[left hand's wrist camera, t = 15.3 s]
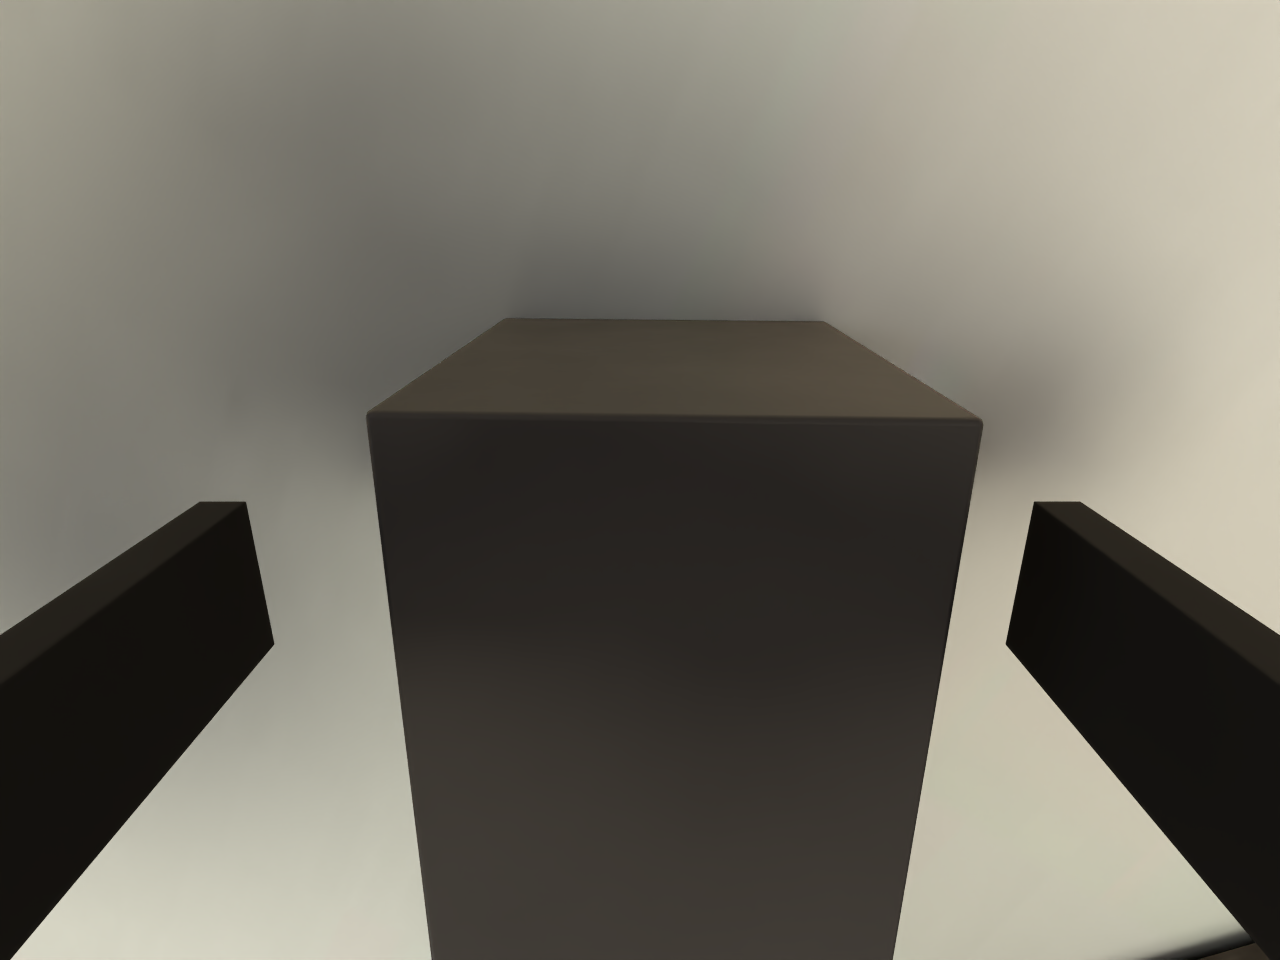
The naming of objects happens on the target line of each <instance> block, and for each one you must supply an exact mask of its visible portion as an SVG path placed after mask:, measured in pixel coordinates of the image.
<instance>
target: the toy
mask: <svg viewBox="0 0 1280 960" xmlns="http://www.w3.org/2000/svg"><path fill="white" fill-rule="evenodd" d="M1198 960H1270V959H1269V958H1268V957H1267V956H1266V955H1265V953H1264V952H1263V951H1262V950H1261V949H1260V947H1259V946H1258V945H1257V944H1256V943H1253V944H1250V945H1246V946H1243V947H1239V948H1236V949H1232V950H1229V951H1225V952H1222V953H1219V954H1215V955H1212V956H1208V957H1205V958H1201V959H1198Z"/></svg>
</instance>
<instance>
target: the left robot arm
mask: <svg viewBox="0 0 1280 960" xmlns="http://www.w3.org/2000/svg"><path fill="white" fill-rule="evenodd" d="M273 645H274V640H273V635H272V630H271V625H270V620H269V615H268V610H267V605H266V600H265V595H264V590H263V585H262V580H261V575H260V570H259V565H258V560H257V555H256V550H255V545H254V540H253V535H252V530H251V525H250V520H249V515H248V510H247V505H246V502H199V503H197V504H196V505H194V506H193V507H191V508H190V509H188V510H187V511H185V512H184V513H182V514H181V515H179V516H178V517H176V518H175V519H173V520H172V521H170V522H169V523H167V524H166V525H164V526H163V527H161V528H160V529H158V530H157V531H155V532H154V533H152V534H151V535H149V536H148V537H146V538H145V539H143V540H142V541H140V542H139V543H137V544H136V545H134V546H133V547H131V548H130V549H128V550H127V551H125V552H124V553H122V554H121V555H119V556H118V557H116V558H115V559H113V560H112V561H110V562H109V563H107V564H106V565H104V566H103V567H101V568H100V569H98V570H97V571H95V572H94V573H92V574H91V575H89V576H88V577H86V578H85V579H83V580H82V581H81V582H79V583H78V584H76V585H75V586H73V587H72V588H70V589H69V590H67V591H66V592H64V593H63V594H61V595H60V596H58V597H57V598H55V599H54V600H52V601H51V602H49V603H48V604H46V605H45V606H43V607H42V608H40V609H39V610H37V611H36V612H34V613H33V614H31V615H30V616H28V617H27V618H25V619H24V620H22V621H21V622H19V623H18V624H16V625H15V626H13V627H12V628H10V629H9V630H7V631H6V632H4V633H3V634H1V635H0V960H10V959H11V958H12V957H13V956H14V955H15V953H16V952H17V951H18V950H19V949H20V947H21V946H22V945H23V944H24V943H25V941H26V940H27V939H28V938H29V937H30V936H31V934H32V933H33V932H34V931H35V930H36V928H37V927H38V926H39V925H40V924H41V922H42V921H43V920H44V919H45V918H46V916H47V915H48V914H49V913H50V912H51V910H52V909H53V908H54V907H55V906H56V904H57V903H58V902H59V901H60V900H61V898H62V897H63V896H64V895H65V894H66V893H67V891H68V890H69V889H70V888H71V887H72V885H73V884H74V883H75V882H76V881H77V879H78V878H79V877H80V876H81V875H82V873H83V872H84V871H85V870H86V869H87V867H88V866H89V865H90V864H91V863H92V861H93V860H94V859H95V858H96V857H97V855H98V854H99V853H100V852H101V851H102V850H103V848H104V847H105V846H106V845H107V844H108V842H109V841H110V840H111V839H112V838H113V836H114V835H115V834H116V833H117V832H118V830H119V829H120V828H121V827H122V826H123V824H124V823H125V822H126V821H127V820H128V818H129V817H130V816H131V815H132V814H133V812H134V811H135V810H136V809H137V808H138V807H139V805H140V804H141V803H142V802H143V801H144V799H145V798H146V797H147V796H148V795H149V793H150V792H151V791H152V790H153V789H154V787H155V786H156V785H157V784H158V783H159V781H160V780H161V779H162V778H163V777H164V775H165V774H166V773H167V772H168V771H169V769H170V768H171V767H172V766H173V765H174V764H175V762H176V761H177V760H178V759H179V758H180V756H181V755H182V754H183V753H184V752H185V750H186V749H187V748H188V747H189V746H190V744H191V743H192V742H193V741H194V740H195V738H196V737H197V736H198V735H199V734H200V732H201V731H202V730H203V729H204V728H205V726H206V725H207V724H208V723H209V722H210V721H211V719H212V718H213V717H214V716H215V715H216V713H217V712H218V711H219V710H220V709H221V707H222V706H223V705H224V704H225V703H226V701H227V700H228V699H229V698H230V697H231V695H232V694H233V693H234V692H235V691H236V689H237V688H238V687H239V686H240V685H241V683H242V682H243V681H244V680H245V679H246V677H247V676H248V675H249V674H250V673H251V672H252V670H253V669H254V668H255V667H256V666H257V664H258V663H259V662H260V661H261V660H262V658H263V657H264V656H265V655H266V654H267V652H268V651H269V650H270V649H271V648H272V646H273ZM1006 645H1007V646H1008V648H1009V649H1010V650H1011V651H1012V652H1013V654H1014V655H1015V656H1016V657H1017V658H1018V660H1019V661H1020V662H1021V663H1022V664H1023V666H1024V667H1025V668H1026V669H1027V670H1028V672H1029V673H1030V674H1031V675H1032V676H1033V678H1034V679H1035V680H1036V681H1037V682H1038V683H1039V685H1040V686H1041V687H1042V688H1043V689H1044V691H1045V692H1046V693H1047V694H1048V695H1049V697H1050V698H1051V699H1052V700H1053V701H1054V703H1055V704H1056V705H1057V706H1058V707H1059V709H1060V710H1061V711H1062V712H1063V713H1064V715H1065V716H1066V717H1067V718H1068V719H1069V721H1070V722H1071V723H1072V724H1073V725H1074V726H1075V728H1076V729H1077V730H1078V731H1079V732H1080V734H1081V735H1082V736H1083V737H1084V738H1085V740H1086V741H1087V742H1088V743H1089V744H1090V746H1091V747H1092V748H1093V749H1094V750H1095V752H1096V753H1097V754H1098V755H1099V756H1100V758H1101V759H1102V760H1103V761H1104V762H1105V764H1106V765H1107V766H1108V767H1109V768H1110V769H1111V771H1112V772H1113V773H1114V774H1115V775H1116V777H1117V778H1118V779H1119V780H1120V781H1121V783H1122V784H1123V785H1124V786H1125V787H1126V789H1127V790H1128V791H1129V792H1130V793H1131V795H1132V796H1133V797H1134V798H1135V799H1136V801H1137V802H1138V803H1139V804H1140V805H1141V807H1142V808H1143V809H1144V810H1145V811H1146V812H1147V814H1148V815H1149V816H1150V817H1151V818H1152V820H1153V821H1154V822H1155V823H1156V824H1157V826H1158V827H1159V828H1160V829H1161V830H1162V832H1163V833H1164V834H1165V835H1166V836H1167V838H1168V839H1169V840H1170V841H1171V842H1172V844H1173V845H1174V846H1175V847H1176V848H1177V850H1178V851H1179V852H1180V853H1181V854H1182V855H1183V857H1184V858H1185V859H1186V860H1187V861H1188V863H1189V864H1190V865H1191V866H1192V867H1193V869H1194V870H1195V871H1196V872H1197V873H1198V875H1199V876H1200V877H1201V878H1202V879H1203V881H1204V882H1205V883H1206V884H1207V885H1208V887H1209V888H1210V889H1211V890H1212V891H1213V893H1214V894H1215V895H1216V896H1217V897H1218V898H1219V900H1220V901H1221V902H1222V903H1223V904H1224V906H1225V907H1226V908H1227V909H1228V910H1229V912H1230V913H1231V914H1232V915H1233V916H1234V918H1235V919H1236V920H1237V921H1238V922H1239V924H1240V925H1241V926H1242V927H1243V928H1244V930H1245V931H1246V932H1247V933H1248V934H1249V936H1250V937H1251V938H1252V939H1253V940H1254V942H1255V943H1256V944H1257V945H1258V946H1259V947H1260V949H1261V950H1262V951H1263V952H1264V953H1265V955H1266V956H1267V957H1268V958H1269V959H1270V960H1280V635H1279V634H1277V633H1276V632H1274V631H1273V630H1271V629H1270V628H1268V627H1267V626H1265V625H1264V624H1262V623H1261V622H1259V621H1258V620H1256V619H1255V618H1253V617H1252V616H1250V615H1249V614H1247V613H1246V612H1244V611H1243V610H1241V609H1240V608H1238V607H1237V606H1235V605H1234V604H1232V603H1231V602H1229V601H1228V600H1226V599H1225V598H1223V597H1222V596H1220V595H1219V594H1217V593H1216V592H1214V591H1213V590H1211V589H1210V588H1208V587H1207V586H1205V585H1204V584H1202V583H1201V582H1199V581H1198V580H1196V579H1195V578H1194V577H1192V576H1191V575H1189V574H1188V573H1186V572H1185V571H1183V570H1182V569H1180V568H1179V567H1177V566H1176V565H1174V564H1173V563H1171V562H1170V561H1168V560H1167V559H1165V558H1164V557H1162V556H1161V555H1159V554H1158V553H1156V552H1155V551H1153V550H1152V549H1150V548H1149V547H1147V546H1146V545H1144V544H1143V543H1141V542H1140V541H1138V540H1137V539H1135V538H1134V537H1132V536H1131V535H1129V534H1128V533H1126V532H1125V531H1123V530H1122V529H1120V528H1119V527H1117V526H1116V525H1114V524H1113V523H1111V522H1110V521H1108V520H1107V519H1105V518H1104V517H1102V516H1101V515H1099V514H1098V513H1096V512H1095V511H1093V510H1092V509H1090V508H1089V507H1087V506H1086V505H1084V504H1083V503H1081V502H1034V505H1033V510H1032V515H1031V520H1030V525H1029V530H1028V535H1027V540H1026V545H1025V550H1024V555H1023V560H1022V565H1021V570H1020V575H1019V580H1018V585H1017V590H1016V595H1015V600H1014V605H1013V610H1012V615H1011V620H1010V625H1009V630H1008V635H1007V640H1006Z"/></svg>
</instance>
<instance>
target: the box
mask: <svg viewBox="0 0 1280 960" xmlns="http://www.w3.org/2000/svg"><path fill="white" fill-rule="evenodd" d="M366 421H367V429H368V437H369V446H370V454H371V462H372V470H373V479H374V487H375V495H376V503H377V512H378V520H379V528H380V536H381V545H382V553H383V561H384V569H385V578H386V586H387V594H388V602H389V611H390V619H391V627H392V635H393V644H394V652H395V660H396V668H397V677H398V685H399V693H400V701H401V710H402V718H403V726H404V734H405V743H406V751H407V759H408V767H409V776H410V784H411V792H412V800H413V809H414V817H415V825H416V833H417V842H418V850H419V858H420V866H421V875H422V883H423V891H424V899H425V907H426V916H427V924H428V932H429V940H430V949H431V957H432V960H893V954H894V948H895V942H896V937H897V931H898V925H899V919H900V913H901V907H902V901H903V895H904V889H905V884H906V878H907V872H908V866H909V860H910V854H911V848H912V842H913V836H914V830H915V825H916V819H917V813H918V807H919V801H920V795H921V789H922V783H923V777H924V772H925V766H926V760H927V754H928V748H929V742H930V736H931V730H932V724H933V718H934V713H935V707H936V701H937V695H938V689H939V683H940V677H941V671H942V665H943V660H944V654H945V648H946V642H947V636H948V630H949V624H950V618H951V612H952V606H953V601H954V595H955V589H956V583H957V577H958V571H959V565H960V559H961V553H962V548H963V542H964V536H965V530H966V524H967V518H968V512H969V506H970V500H971V494H972V489H973V483H974V477H975V471H976V465H977V459H978V453H979V447H980V441H981V436H982V430H983V422H982V419H980V418H978V417H977V416H975V415H974V414H972V413H970V412H969V411H967V410H966V409H964V408H962V407H961V406H959V405H958V404H956V403H954V402H953V401H951V400H950V399H948V398H946V397H945V396H943V395H942V394H940V393H938V392H937V391H935V390H933V389H932V388H930V387H929V386H927V385H925V384H924V383H922V382H921V381H919V380H917V379H916V378H914V377H913V376H911V375H909V374H908V373H906V372H905V371H903V370H901V369H900V368H898V367H896V366H895V365H893V364H892V363H890V362H888V361H887V360H885V359H884V358H882V357H880V356H879V355H877V354H876V353H874V352H872V351H871V350H869V349H868V348H866V347H864V346H863V345H861V344H860V343H858V342H856V341H855V340H853V339H851V338H850V337H848V336H847V335H845V334H843V333H842V332H840V331H839V330H837V329H835V328H834V327H832V326H831V325H829V324H827V323H826V322H812V321H712V320H612V319H513V318H506V319H504V320H502V321H501V322H499V323H498V324H496V325H495V326H493V327H492V328H491V329H489V330H488V331H486V332H485V333H483V334H482V335H480V336H479V337H477V338H476V339H474V340H473V341H471V342H470V343H468V344H467V345H466V346H464V347H463V348H461V349H460V350H458V351H457V352H455V353H454V354H452V355H451V356H449V357H448V358H446V359H445V360H443V361H442V362H441V363H439V364H438V365H436V366H435V367H433V368H432V369H430V370H429V371H427V372H426V373H424V374H423V375H421V376H420V377H418V378H417V379H416V380H414V381H413V382H411V383H410V384H408V385H407V386H405V387H404V388H402V389H401V390H399V391H398V392H396V393H395V394H393V395H392V396H391V397H389V398H388V399H386V400H385V401H383V402H382V403H380V404H379V405H377V406H376V407H374V408H373V409H371V410H370V411H368V412H367V416H366Z"/></svg>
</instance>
